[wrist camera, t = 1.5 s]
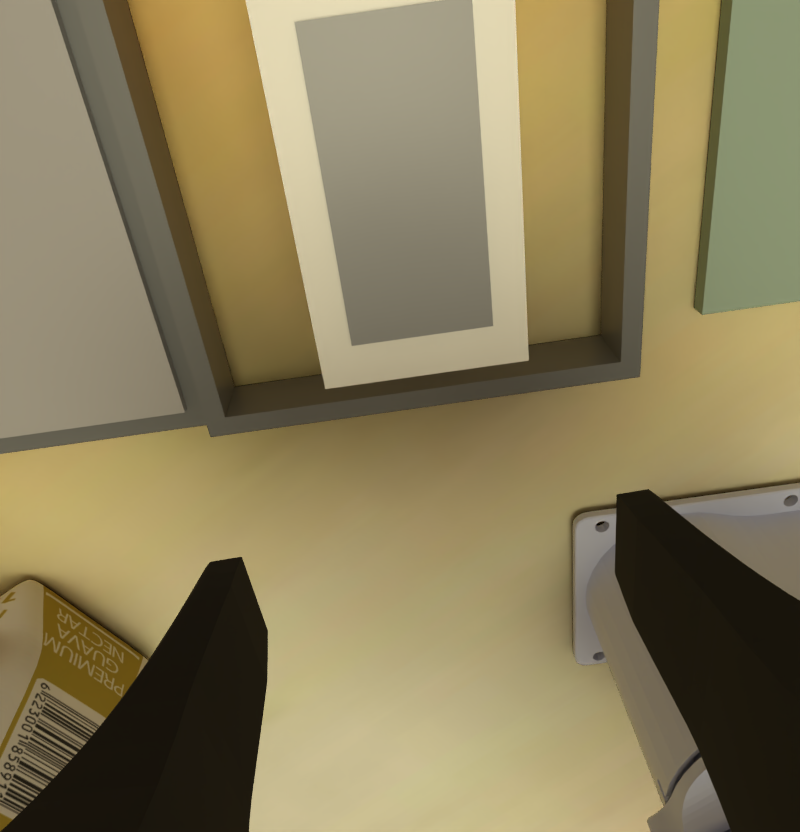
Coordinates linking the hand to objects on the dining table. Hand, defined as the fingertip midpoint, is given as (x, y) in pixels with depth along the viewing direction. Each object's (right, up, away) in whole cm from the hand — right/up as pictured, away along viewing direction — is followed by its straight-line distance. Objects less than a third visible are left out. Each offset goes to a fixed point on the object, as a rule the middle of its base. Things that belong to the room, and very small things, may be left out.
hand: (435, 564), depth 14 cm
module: (-1, +11, +6) cm, 12 cm away
